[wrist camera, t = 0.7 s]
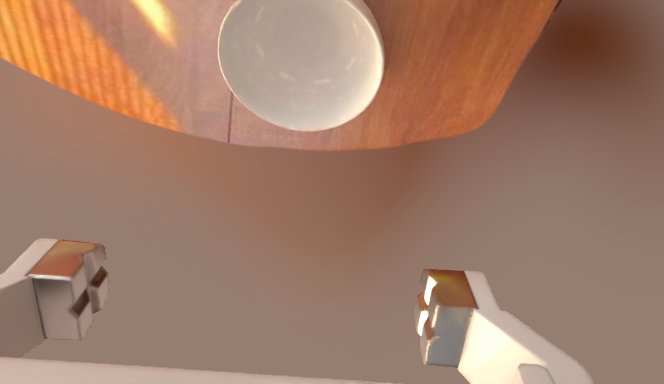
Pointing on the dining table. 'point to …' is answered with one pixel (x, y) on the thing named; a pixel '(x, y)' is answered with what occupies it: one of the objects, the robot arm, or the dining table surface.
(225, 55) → the cereal bowl
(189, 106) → the dining table surface
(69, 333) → the robot arm
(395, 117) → the dining table surface
